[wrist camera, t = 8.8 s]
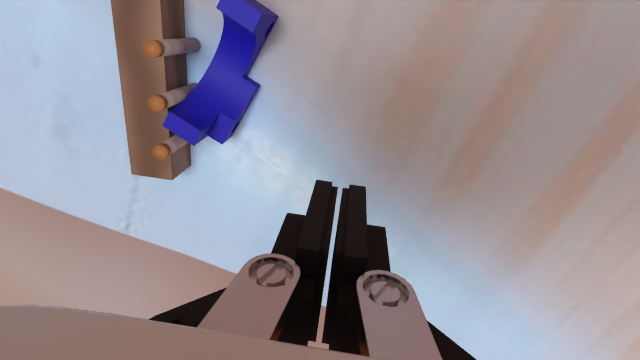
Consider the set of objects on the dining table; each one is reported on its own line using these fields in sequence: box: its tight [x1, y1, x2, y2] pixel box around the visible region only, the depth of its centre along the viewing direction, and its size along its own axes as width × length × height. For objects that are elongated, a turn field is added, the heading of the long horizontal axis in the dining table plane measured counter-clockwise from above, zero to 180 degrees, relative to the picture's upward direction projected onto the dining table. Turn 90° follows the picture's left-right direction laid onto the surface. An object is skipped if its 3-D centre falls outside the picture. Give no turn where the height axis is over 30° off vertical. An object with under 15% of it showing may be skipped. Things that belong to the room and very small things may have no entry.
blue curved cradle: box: [162, 0, 279, 145], centre depth 30 cm, size 12×4×6 cm, turn 147°
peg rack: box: [111, 0, 200, 180], centre depth 30 cm, size 5×16×7 cm, turn 173°
